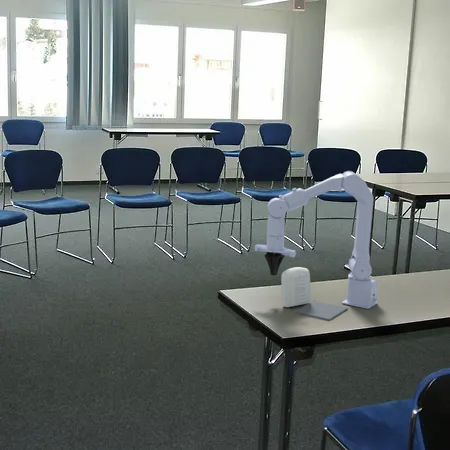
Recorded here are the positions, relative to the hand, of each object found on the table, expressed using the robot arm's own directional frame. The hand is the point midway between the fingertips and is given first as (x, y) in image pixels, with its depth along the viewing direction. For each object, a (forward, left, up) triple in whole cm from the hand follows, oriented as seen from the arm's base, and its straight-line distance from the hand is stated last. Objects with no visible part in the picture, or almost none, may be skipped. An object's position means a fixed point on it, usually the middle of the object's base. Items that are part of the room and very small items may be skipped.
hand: (273, 274), depth 225 cm
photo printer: (-9, 0, -9) cm, 13 cm away
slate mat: (-18, 0, -9) cm, 20 cm away
